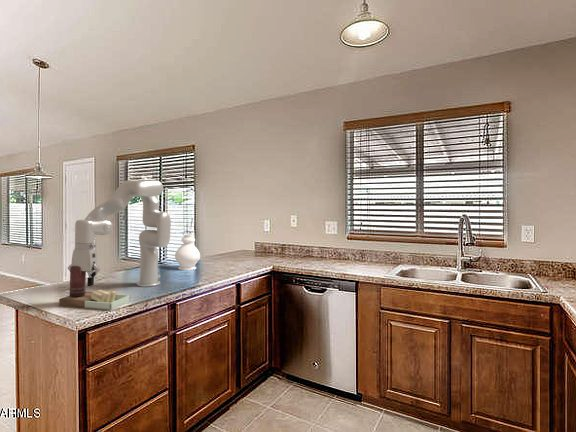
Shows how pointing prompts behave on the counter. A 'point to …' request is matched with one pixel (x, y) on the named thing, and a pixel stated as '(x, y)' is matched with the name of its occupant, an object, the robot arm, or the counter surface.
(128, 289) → the counter surface
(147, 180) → the robot arm
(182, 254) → the decorative vase
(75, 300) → the board
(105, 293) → the tile
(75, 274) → the can
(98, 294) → the tile
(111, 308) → the tray
